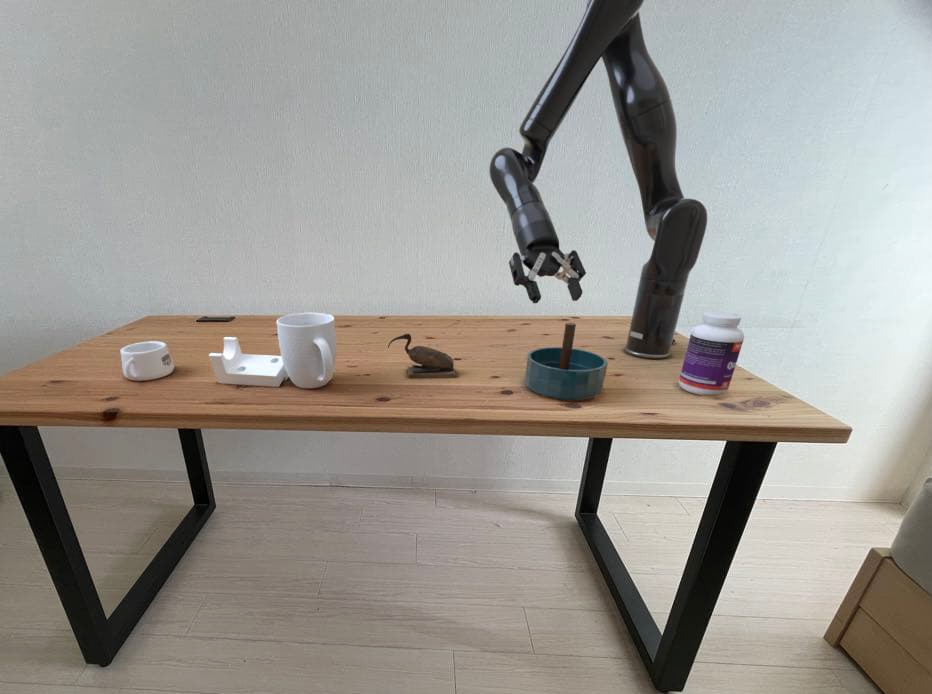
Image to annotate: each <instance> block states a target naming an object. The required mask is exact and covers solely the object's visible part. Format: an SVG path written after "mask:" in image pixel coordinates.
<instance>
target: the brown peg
mask: <svg viewBox="0 0 932 694" xmlns="http://www.w3.org/2000/svg"><path fill="white" fill-rule="evenodd" d="M576 327H577V324H576V323H575V322H565V324H564V331H563V337H562V338H563V339H562V345H561V347H562V351H561V358H560V365H559V369H565V370H569V366H570V360H571V353H572V348H573V347H574V339H575V333H576Z"/></svg>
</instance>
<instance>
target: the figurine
mask: <svg viewBox="0 0 932 694" xmlns="http://www.w3.org/2000/svg"><path fill="white" fill-rule="evenodd" d="M398 340H407V342H406V344H405V346H404V351H405V352H406V354H407V355H408V358H409V359H410V360H411V361H412V362H413V363H415V364H412V365H411V366H407V376H408V378H409V379H411V378H412V379H415V378H416V379H418V378H423V379H424V378H427V379H428V378H429V379H431V378H456V371H455V368H454V366H455V362H454V359H453V357H452V356H450V355H449V354H447V353H446V352H443V351H440V350H438V349H434V348H431V347H429V346H424V345H416V346H414V347H412V348H409V346H410V345H411V342H412V335H411V334H410V333H405V334H403V335H399V336H395V337H394V338H393V339H391V340H390V341H389V343H388V345H387V349H388V348H390V346H391V344H392V343H393V342H394V341H398Z"/></svg>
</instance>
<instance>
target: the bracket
mask: <svg viewBox="0 0 932 694" xmlns="http://www.w3.org/2000/svg"><path fill="white" fill-rule="evenodd" d="M208 359H209V361H210V364H211V367H212V370H213V372H214V375H215V378H216V380H217V383H218V384H224V385H227V384H228V385H242V386H255V387H256V386H257V387H258V386H259V387H271V388H272V387H273V388H280V386H281V384H282V382H283V381H287V380H288V379H289V376H288V374H287V371H286V369H285V367H284V364H283V361H282V357H281V355H270V354H269V355H267V354H250V353H249V354H247V353H243V352H242V350H241V346H240V343H239V339H238V337H235V336H224V337H223V352H222V353H219V352H210V353H208Z"/></svg>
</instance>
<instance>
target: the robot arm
mask: <svg viewBox="0 0 932 694" xmlns="http://www.w3.org/2000/svg"><path fill="white" fill-rule="evenodd" d="M644 2H645V0H587V2H586V6H585V7H586V8H585V11H584V14H583V16H582V18H581V21H580V23H579V25H578V27H577V29H576V31H575V33H574V35H573V37H572V39H571V40H570V42H569V45H568V46H567V47H566V49H565V51H564V53H563V54H562V56H561V58H560V60H559V61H558V63H557V64H556V66H555V68H554V69H553V71H552V72H551V74H550V75H549V77H548V78H547V80H546V81H545V83H544V84H543V86H542V88H541V89H540V91H539V93H538V94H537V95H536V98H535V99H534V101H533V103H532V105H531V106H530V108H529V110H528V112H527V113H526V115H525V117H524V118H523V120H522V122H521V124H520V126H519V129H518V133H519V136H520V137H521V139H522V140H523V143H524V144H523V146H522V147H523V148H522V151H521V152H520V151H518V150H517V149H515V148H512V147H509V146H507V147H506V146H505V147H503V148H500V149H498V150H497V151H496V152H495V153H494V154H493V156H492V157H491V160H490V162H489V173H488V174H489V178H490V181H491V183H492V185H493V187H494V189H495V190H496V192H497V193H498V195H499V197H500V199H501V201H503V203H504V204H505V206H506V207H505V208H506V210H507V213H508V216H509V219H510V223H511V228H512V233H513V235H514V238H515V242H516V244H517V247H518V250H519V252H514V253H513V254H512V256H511V258H510V259H509V261H508V265H509V269H510V272H511V273H510V274H511V277H512V281H513V284H514V286H517V287H518V286H523V287H524V288H525V290H526V294H527V297H528V300H529V301H531V302H532V304H538V303H539V302H540V301H541V299H542V294H541V292H540V288H539V285H538V283H537V280H535V278H536V277H537V276H538V277H539V278H543V277H555V278H556V279H557V280H558V281H560V280H561V281H562V282H564V283H565V284H566V285H567V286H566V287H567V289H568V292H569V295H570V297H571V300H572V301H573V302H577V301H579V299H581V297H582V295H583V289H582V286H581V284H580V281H581V280H582V279H583V278H584V277H585V276H586V275H587V271H586V270H585V267H584V264H583V263H582V261H581V258H580V256H579V254H578V252H577V251H576V250H574V249H573V250H571V251H570V252H569V253H564V252H563V251H562V250H561V249H560V240H559V236H558V234H557V231H556V229H555V226H554V223H553V220H552V217H551V215H550V213H549V211H548V209H547V208H546V205H545V203H544V200H543V198H542V195H541V192H540V190H539V189H538V188H537V186H536V185H535V184H534V182H535V181H536V180H537V178H538V175H539V173H540V171H541V168H542V165H543V162H544V159H545V157H546V154H547V152H548V148H549V145H550V143H551V141H552V139H553V138H554V137H555V135H556V133H557V132H558V130H559V128H560V127H561V125H562V123H563V122H564V120H566V119H565V118H566V117H567V115H568V113H569V112H570V110H571V109H572V107H573V106H574V103H575V101H576V99H578V97H579V95H580V92H581V91H582V89H583V87H584V85H585V84H586V82H587V80H588V78H589V77H590V75H591V74H592V72H593V70H594V69H595V67H596V65H597V64H598V62H599V61H600V60H602V62H603V65H604V67H605V71H606V75H607V78H608V84H609V89H610V93H611V99H612V102H613V107H614V111H615V115H616V119H617V123H618V125H619V126H618V127H619V129H620V134H621V137H622V141H623V143H624V146H625V149H626V152H627V155H628V159H629V162H630V165H631V169H632V172H633V174H634V177H635V180H636V182H637V186H638V190H639V194H640V195H639V196H640V200H641V206H642V214H643V218H644V226H645V229H646V232H647V234H648V236H649V238H650V239H651V240H652V241H654V243H653V247H652V251H651V254H650V257H649V259H647V261H646V262H644V264H643V265H642V266H641V267H642V268H641V271H640V277H639V282H638V286H637V292H636V296H635V300H634V306H633V311H632V316H631V320H630V325H629V330H628V335H627V339H626V345H625V346H624V352H625V353H627V354H629V355H631V356H635V357H638V358H643V359H655V360H656V359H659V360H661V359H667V358H669V357H670V356H671V350H672V349H671V348H672V346H673V344H674V343H676V338H675V334H676V329H677V325H678V321H679V316H680V313H681V309H682V305H683V302H684V298H685V297H684V296H685V292H686V288H687V285H688V279H689V276H690V272H692V270H693V268H695V265H696V264H697V261H698V258H699V255H700V251H701V247H702V245H703V241H704V237H705V234H706V230H707V225H708V211H707V208H706V206H705V205H704V203H702V201H699V200H697V199H694V198H687V197H686V198H685V196H684V194H683V191H682V189H681V185H680V182H679V179H678V175H677V169H676V155H677V154H676V153H677V143H678V141H677V140H678V124H677V118H676V114H675V110H674V106H673V101H672V98H671V94H670V90H669V88H668V86H667V84H666V82H665V79H664V78H663V75H662V74H661V72H660V70H659V69H658V67H657V66H656V63H655V62H654V61H653V59H652V57H651V55H650V53H649V50H648V48H647V45H646V43H645V37H644V32H643V28H642V22H641V16H640V10H641V8H642V7H643V5H644ZM523 265H524V266H525V267H526V268H528V270H529V271H528V273H527V275H525V270H524V266H523ZM561 268H562V271H560V270H561ZM674 338H675V339H674Z"/></svg>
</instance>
